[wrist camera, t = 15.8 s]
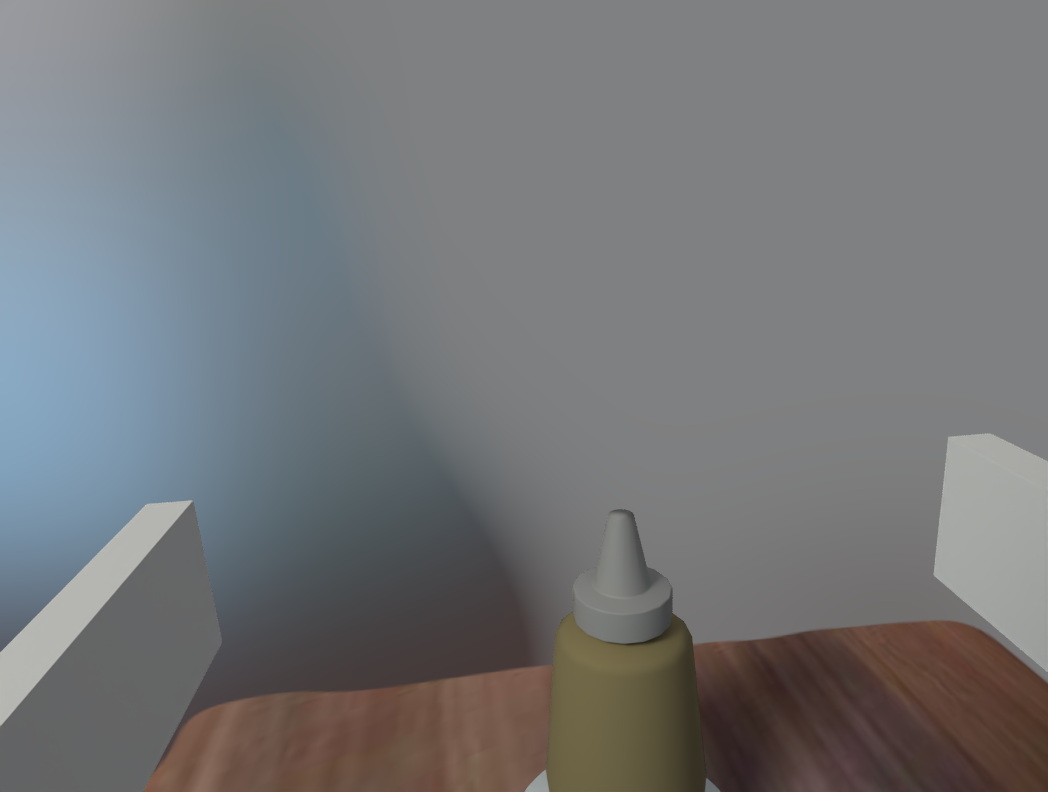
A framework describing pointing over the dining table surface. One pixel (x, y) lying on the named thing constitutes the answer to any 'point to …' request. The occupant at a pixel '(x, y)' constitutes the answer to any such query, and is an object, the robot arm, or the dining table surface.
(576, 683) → the squeeze bottle
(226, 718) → the dining table surface
